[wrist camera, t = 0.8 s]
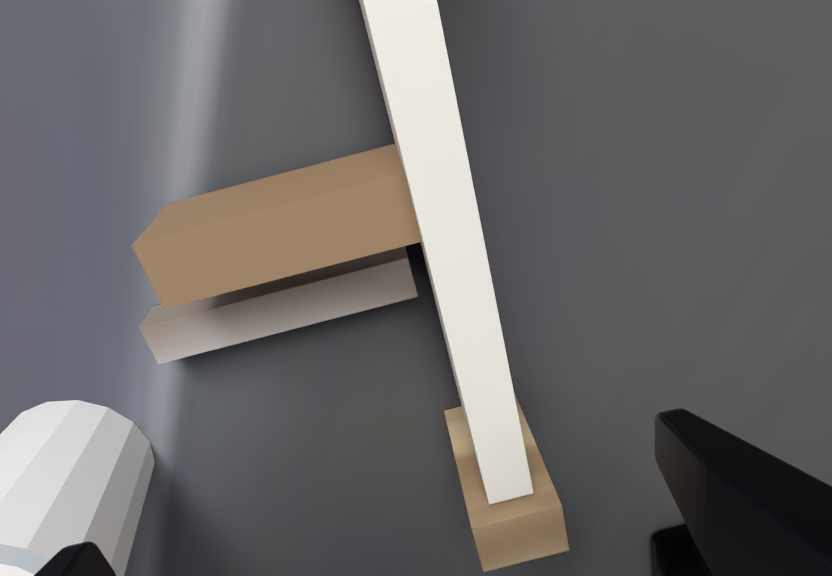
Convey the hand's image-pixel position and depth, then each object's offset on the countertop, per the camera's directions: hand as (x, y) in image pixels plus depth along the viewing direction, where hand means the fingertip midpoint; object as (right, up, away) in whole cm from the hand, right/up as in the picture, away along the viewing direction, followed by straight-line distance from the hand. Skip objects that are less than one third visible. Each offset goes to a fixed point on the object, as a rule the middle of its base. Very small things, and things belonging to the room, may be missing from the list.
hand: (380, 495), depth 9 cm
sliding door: (-3, +5, +10) cm, 12 cm away
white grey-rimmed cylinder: (-13, -3, +14) cm, 19 cm away
